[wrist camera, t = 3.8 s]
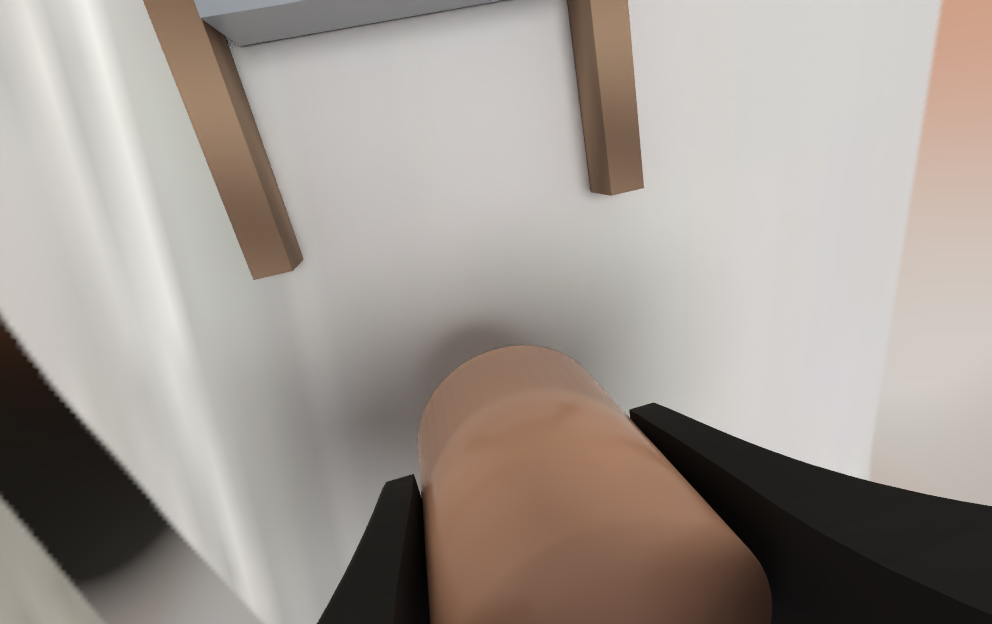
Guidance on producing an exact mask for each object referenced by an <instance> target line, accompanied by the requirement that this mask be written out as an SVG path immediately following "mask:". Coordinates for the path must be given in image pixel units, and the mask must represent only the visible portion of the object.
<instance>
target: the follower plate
mask: <svg viewBox="0 0 992 624" xmlns="http://www.w3.org/2000/svg"><path fill="white" fill-rule="evenodd" d="M496 1H502V0H194V2H195V5H196V7H197V10H198V13H199V16H200V18H201V19H203V20H204V21H205V22H207V23H208V24H209V25H211V26H212V27H214V28H215V29H216V30H218V31H219V32H221V33H222V34H223V35H225V36H226V37H227V38H229V39H230V40H232V41H233V42H234V43H236V44H237V45H239V46H244V45H250V44H255V43H261V42H267V41H273V40H278V39H284V38H290V37H296V36H301V35H307V34H313V33H318V32H324V31H330V30H336V29H341V28H347V27H353V26H358V25H364V24H370V23H376V22H381V21H387V20H393V19H399V18H404V17H410V16H416V15H421V14H427V13H433V12H439V11H444V10H450V9H456V8H462V7H467V6H473V5H479V4H484V3H490V2H496Z"/></svg>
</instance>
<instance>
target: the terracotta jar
mask: <svg viewBox="0 0 992 624" xmlns="http://www.w3.org/2000/svg"><path fill="white" fill-rule="evenodd" d="M418 453H419V468H420V482H421V496H422V511H423V525H424V539H425V554H426V568H427V582H428V597H429V611H430V624H771V619H772V597H771V590H770V586H769V582H768V579H767V576H766V574H765V572H764V570H763V568H762V566H761V564H760V562H759V561H758V560H757V558H756V557H755V556H754V554H753V553H752V552H751V550H750V549H749V548H748V547H747V546H746V545H745V544H744V543H743V542H742V541H741V539H740V538H739V537H738V536H737V535H736V534H735V533H734V532H733V531H732V530H731V529H730V527H729V526H728V525H727V524H726V523H725V522H724V521H723V520H722V519H721V518H720V516H719V515H718V514H717V513H716V512H715V511H714V510H713V509H712V508H711V507H710V506H709V504H708V503H707V502H706V501H705V500H704V499H703V498H702V497H701V496H700V495H699V493H698V492H697V491H696V490H695V489H694V488H693V487H692V486H691V485H690V484H689V483H688V481H687V480H686V479H685V478H684V477H683V476H682V475H681V474H680V473H679V472H678V470H677V469H676V468H675V467H674V466H673V465H672V464H671V463H670V462H669V461H668V460H667V458H666V457H665V456H664V455H663V454H662V453H661V452H660V451H659V450H658V449H657V447H656V446H655V445H654V444H653V443H652V442H651V441H650V440H649V439H648V438H647V437H646V435H645V434H644V433H643V432H642V431H641V430H640V429H639V428H638V427H637V426H636V424H635V423H634V422H633V421H632V420H631V419H630V418H629V417H628V416H627V415H626V414H625V412H624V411H623V410H622V409H621V408H620V407H619V406H618V405H617V404H616V403H615V401H614V400H613V399H612V398H611V397H610V396H609V395H608V394H607V393H606V392H605V391H604V389H603V388H602V387H601V386H600V385H599V384H598V383H597V382H596V381H595V380H594V378H593V377H592V376H591V375H590V374H589V373H588V372H587V371H586V370H585V369H584V368H583V367H582V366H581V365H580V364H579V363H577V362H576V361H574V360H573V359H572V358H570V357H569V356H566V355H564V354H562V353H560V352H558V351H555V350H552V349H549V348H545V347H539V346H532V345H516V346H507V347H502V348H497V349H494V350H491V351H488V352H485V353H482V354H480V355H478V356H476V357H474V358H472V359H470V360H468V361H467V362H465V363H463V364H462V365H460V366H459V367H458V368H456V369H455V370H454V371H453V372H452V373H450V374H449V375H448V376H447V377H446V378H445V379H444V380H443V381H442V382H441V383H440V385H439V386H438V387H437V389H436V390H435V391H434V393H433V394H432V396H431V397H430V399H429V401H428V403H427V404H426V407H425V409H424V412H423V414H422V417H421V421H420V425H419V430H418Z"/></svg>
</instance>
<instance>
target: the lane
mask: <svg viewBox="0 0 992 624" xmlns="http://www.w3.org/2000/svg"><path fill="white" fill-rule="evenodd" d="M143 1H144V4H145V6H146V9H147V12H148V14H149V17H150V19H151V22H152V24H153V27H154V29H155V32H156V34H157V37H158V39H159V42H160V44H161V47H162V49H163V52H164V55H165V57H166V60H167V62H168V65H169V67H170V70H171V72H172V75H173V77H174V80H175V82H176V85H177V87H178V90H179V92H180V95H181V98H182V100H183V103H184V105H185V108H186V110H187V113H188V115H189V118H190V120H191V123H192V125H193V128H194V130H195V133H196V135H197V138H198V141H199V143H200V146H201V148H202V151H203V153H204V156H205V158H206V161H207V163H208V166H209V168H210V171H211V173H212V176H213V178H214V181H215V184H216V186H217V189H218V191H219V194H220V196H221V199H222V201H223V204H224V206H225V209H226V211H227V214H228V216H229V219H230V221H231V224H232V226H233V229H234V232H235V234H236V237H237V239H238V242H239V244H240V247H241V249H242V252H243V254H244V257H245V259H246V262H247V264H248V267H249V269H250V272H251V275H252V277H253V280H255V279H260V278H264V277H268V276H272V275H277V274H281V273H285V272H289V271H293V270H294V269H295V268H296V267H297V266H298V264H299V263H300V262H301V261H302V260H303V257H302V254H301V251H300V249H299V246H298V243H297V240H296V237H295V234H294V231H293V229H292V226H291V223H290V220H289V217H288V214H287V212H286V209H285V206H284V203H283V200H282V197H281V194H280V192H279V189H278V186H277V183H276V180H275V177H274V175H273V172H272V169H271V166H270V163H269V160H268V157H267V155H266V152H265V149H264V146H263V143H262V140H261V138H260V135H259V132H258V129H257V126H256V123H255V120H254V118H253V115H252V112H251V109H250V106H249V103H248V101H247V98H246V95H245V92H244V89H243V86H242V83H241V81H240V78H239V75H238V72H237V69H236V66H235V63H234V61H233V58H232V55H231V52H230V49H229V46H228V44H227V41H226V38H225V35H223V34H222V33H221V32H219V31H218V30H216V29H215V28H214V27H212V26H211V25H209V24H208V23H207V22H205V21H204V20H203V19H201V18H200V16H199V13H198V10H197V7H196V5H195V2H194V0H143ZM567 1H568V9H569V17H570V25H571V33H572V41H573V49H574V57H575V65H576V73H577V81H578V89H579V98H580V106H581V114H582V122H583V130H584V138H585V146H586V154H587V162H588V170H589V178H590V186H591V192H594V193H600V194H606V195H616V194H620V193H624V192H629V191H633V190H637V189H641V188H644V184H643V172H642V160H641V149H640V137H639V125H638V114H637V102H636V90H635V79H634V67H633V56H632V44H631V32H630V21H629V9H628V0H567Z"/></svg>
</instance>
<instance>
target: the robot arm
mask: <svg viewBox="0 0 992 624" xmlns="http://www.w3.org/2000/svg"><path fill="white" fill-rule="evenodd" d="M629 411H630V419H631V420H632V421H633V422H634V423H635V424H636V426H637V427H638V428H639V429H640V430H641V431H642V432H643V433H644V434H645V435H646V437H647V438H648V439H649V440H650V441H651V442H652V443H653V444H654V445H655V446H656V447H657V449H658V450H659V451H660V452H661V453H662V454H663V455H664V456H665V457H666V458H667V460H668V461H669V462H670V463H671V464H672V465H673V466H674V467H675V468H676V469H677V470H678V472H679V473H680V474H681V475H682V476H683V477H684V478H685V479H686V480H687V481H688V483H689V484H690V485H691V486H692V487H693V488H694V489H695V490H696V491H697V492H698V493H699V495H700V496H701V497H702V498H703V499H704V500H705V501H706V502H707V503H708V504H709V506H710V507H711V508H712V509H713V510H714V511H715V512H716V513H717V514H718V515H719V516H720V518H721V519H722V520H723V521H724V522H725V523H726V524H727V525H728V526H729V527H730V529H731V530H732V531H733V532H734V533H735V534H736V535H737V536H738V537H739V538H740V539H741V541H742V542H743V543H744V544H745V545H746V546H747V547H748V548H749V549H750V550H751V552H752V553H753V554H754V556H755V557H756V558H757V560H758V561H759V562H760V564H761V566H762V568H763V570H764V572H765V574H766V576H767V579H768V582H769V586H770V590H771V597H772V619H771V624H992V506H987V505H981V504H975V503H969V502H963V501H958V500H953V499H947V498H942V497H937V496H932V495H927V494H923V493H918V492H914V491H909V490H905V489H901V488H896V487H892V486H887V485H883V484H879V483H875V482H871V481H867V480H863V479H859V478H855V477H852V476H848V475H845V474H842V473H838V472H835V471H831V470H828V469H824V468H821V467H818V466H814V465H811V464H808V463H805V462H802V461H799V460H796V459H793V458H790V457H787V456H784V455H782V454H779V453H776V452H773V451H770V450H768V449H765V448H762V447H759V446H757V445H754V444H752V443H749V442H747V441H744V440H742V439H739V438H737V437H734V436H732V435H729V434H727V433H724V432H722V431H720V430H717V429H715V428H713V427H710V426H708V425H706V424H703V423H701V422H699V421H696V420H694V419H692V418H689V417H687V416H685V415H683V414H680V413H678V412H676V411H673V410H671V409H669V408H666V407H664V406H661V405H659V404H656V403H650V404H647V405H644V406H640V407H637V408H634V409H630V410H629ZM317 624H430V611H429V597H428V582H427V568H426V554H425V539H424V525H423V511H422V498H421V495H420V492H419V489H418V486H417V483H416V479H415V476H414V474H412V475H409V476H405V477H402V478H398V479H395V480H392V481H388V482H386V484H385V485H384V487H383V489H382V491H381V494H380V496H379V499H378V501H377V504H376V506H375V509H374V511H373V514H372V516H371V518H370V521H369V523H368V525H367V527H366V530H365V532H364V534H363V536H362V538H361V541H360V543H359V545H358V547H357V549H356V551H355V553H354V555H353V558H352V560H351V562H350V564H349V566H348V568H347V570H346V572H345V574H344V575H343V577H342V579H341V581H340V583H339V585H338V587H337V589H336V590H335V592H334V594H333V596H332V598H331V600H330V602H329V603H328V605H327V607H326V609H325V611H324V612H323V614H322V616H321V618H320V619H319V621H318V623H317Z"/></svg>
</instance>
